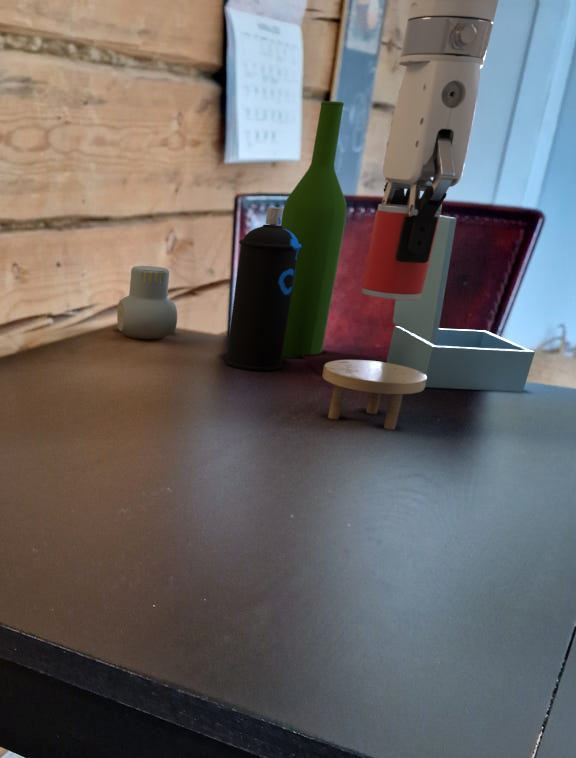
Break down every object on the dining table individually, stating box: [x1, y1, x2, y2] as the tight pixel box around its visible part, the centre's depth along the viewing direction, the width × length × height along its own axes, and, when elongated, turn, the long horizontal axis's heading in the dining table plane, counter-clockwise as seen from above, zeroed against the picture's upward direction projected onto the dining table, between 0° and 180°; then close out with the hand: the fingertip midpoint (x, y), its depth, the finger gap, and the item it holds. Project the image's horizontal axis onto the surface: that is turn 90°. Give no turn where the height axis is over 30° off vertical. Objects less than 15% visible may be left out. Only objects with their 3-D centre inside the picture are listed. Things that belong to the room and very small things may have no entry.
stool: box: [321, 359, 427, 430], centre depth 95 cm, size 11×11×6 cm
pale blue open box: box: [385, 325, 536, 393], centre depth 118 cm, size 14×15×6 cm
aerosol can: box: [224, 206, 301, 372], centre depth 117 cm, size 8×8×20 cm
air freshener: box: [116, 265, 178, 340], centre depth 133 cm, size 11×8×10 cm
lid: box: [392, 214, 457, 343], centre depth 112 cm, size 14×15×5 cm
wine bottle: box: [280, 100, 348, 360], centre depth 123 cm, size 9×9×32 cm
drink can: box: [361, 203, 440, 301], centre depth 88 cm, size 6×6×8 cm
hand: (399, 256), depth 88 cm, fingers closed on drink can, 6 cm apart
